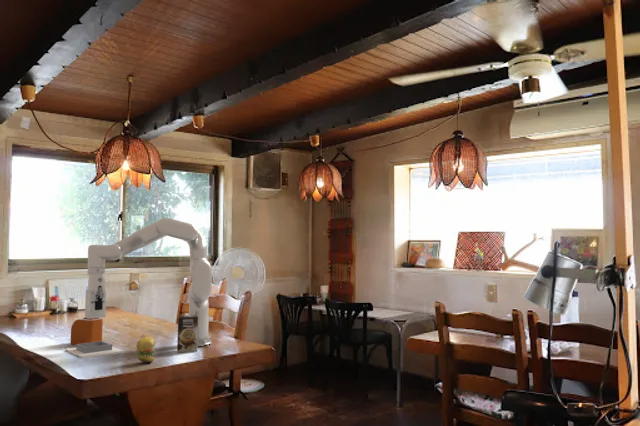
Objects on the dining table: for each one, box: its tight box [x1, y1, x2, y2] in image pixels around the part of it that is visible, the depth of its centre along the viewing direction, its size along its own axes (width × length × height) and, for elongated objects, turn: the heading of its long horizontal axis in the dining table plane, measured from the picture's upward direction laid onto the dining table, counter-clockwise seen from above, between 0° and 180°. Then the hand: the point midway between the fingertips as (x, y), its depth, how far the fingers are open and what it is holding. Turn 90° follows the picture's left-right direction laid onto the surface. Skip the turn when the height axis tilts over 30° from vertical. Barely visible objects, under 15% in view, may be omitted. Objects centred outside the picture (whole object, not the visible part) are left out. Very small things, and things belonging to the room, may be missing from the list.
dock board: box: [64, 340, 125, 359], centre depth 239 cm, size 24×18×3 cm
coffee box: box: [176, 315, 198, 353], centre depth 240 cm, size 9×6×16 cm
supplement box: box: [84, 289, 107, 319], centre depth 240 cm, size 7×7×13 cm
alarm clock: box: [70, 316, 104, 346], centre depth 257 cm, size 15×8×14 cm, turn 59°
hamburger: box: [136, 334, 157, 363], centre depth 215 cm, size 8×7×12 cm
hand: (95, 308), depth 240 cm, fingers closed on supplement box, 7 cm apart
